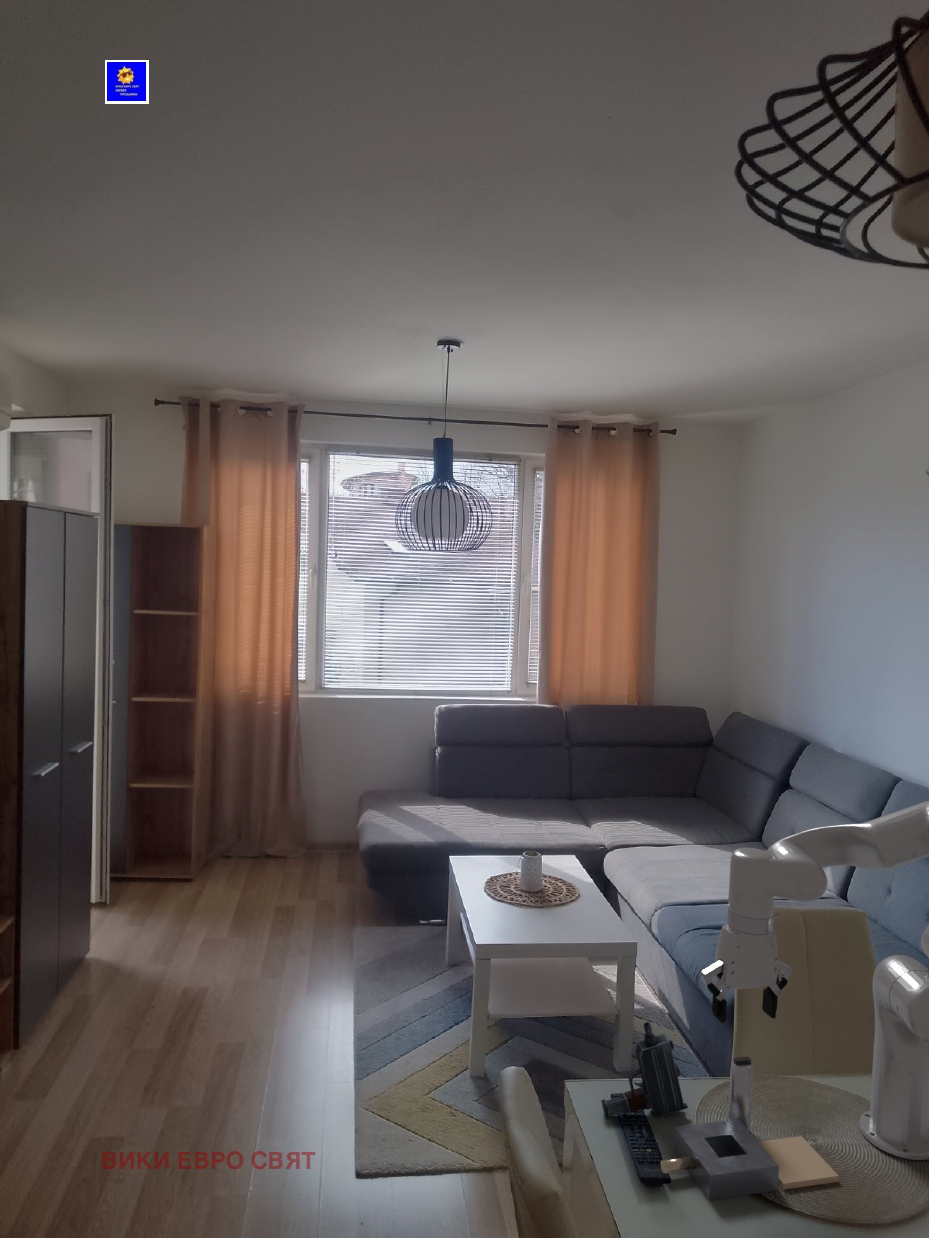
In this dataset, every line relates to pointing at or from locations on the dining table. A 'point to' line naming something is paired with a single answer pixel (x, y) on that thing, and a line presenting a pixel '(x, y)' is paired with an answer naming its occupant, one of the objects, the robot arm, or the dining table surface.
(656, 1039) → the gun
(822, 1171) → the pad
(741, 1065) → the silver metal rod
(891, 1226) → the dining table surface
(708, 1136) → the block
